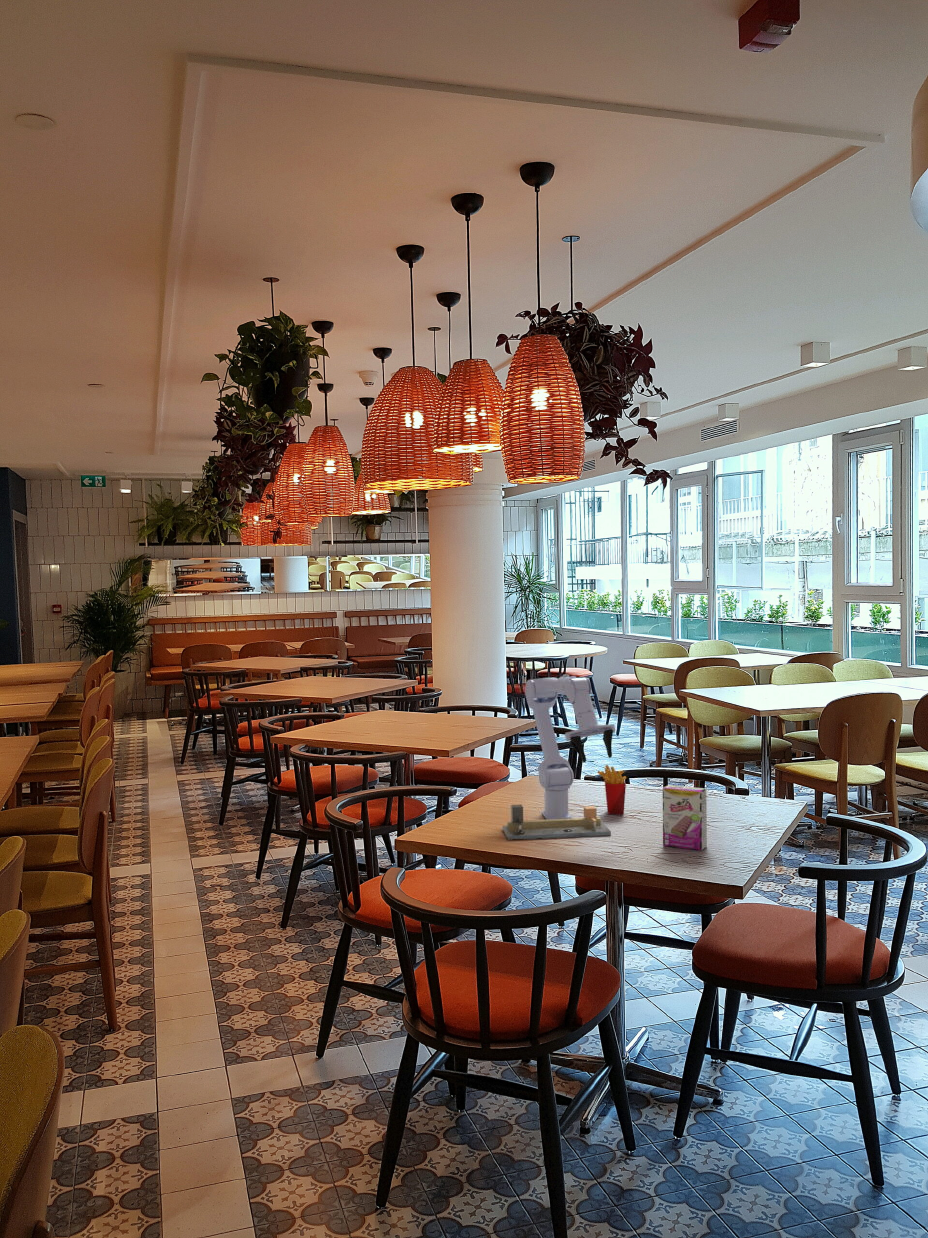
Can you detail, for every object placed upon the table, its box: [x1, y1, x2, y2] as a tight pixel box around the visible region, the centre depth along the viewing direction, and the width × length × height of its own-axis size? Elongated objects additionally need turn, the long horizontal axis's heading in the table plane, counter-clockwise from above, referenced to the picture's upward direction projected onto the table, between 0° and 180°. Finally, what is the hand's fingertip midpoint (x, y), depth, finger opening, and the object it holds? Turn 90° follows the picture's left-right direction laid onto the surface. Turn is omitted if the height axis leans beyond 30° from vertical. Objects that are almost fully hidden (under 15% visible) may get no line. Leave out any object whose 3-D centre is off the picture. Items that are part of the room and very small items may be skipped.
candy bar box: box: [662, 784, 708, 851], centre depth 262 cm, size 11×5×16 cm, turn 59°
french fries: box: [596, 764, 627, 816], centre depth 301 cm, size 9×8×15 cm
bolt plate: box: [502, 804, 612, 841], centre depth 280 cm, size 12×30×8 cm, turn 95°
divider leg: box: [583, 805, 598, 829], centre depth 281 cm, size 8×3×5 cm, turn 5°
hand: (597, 759), depth 273 cm, fingers open, 7 cm apart
